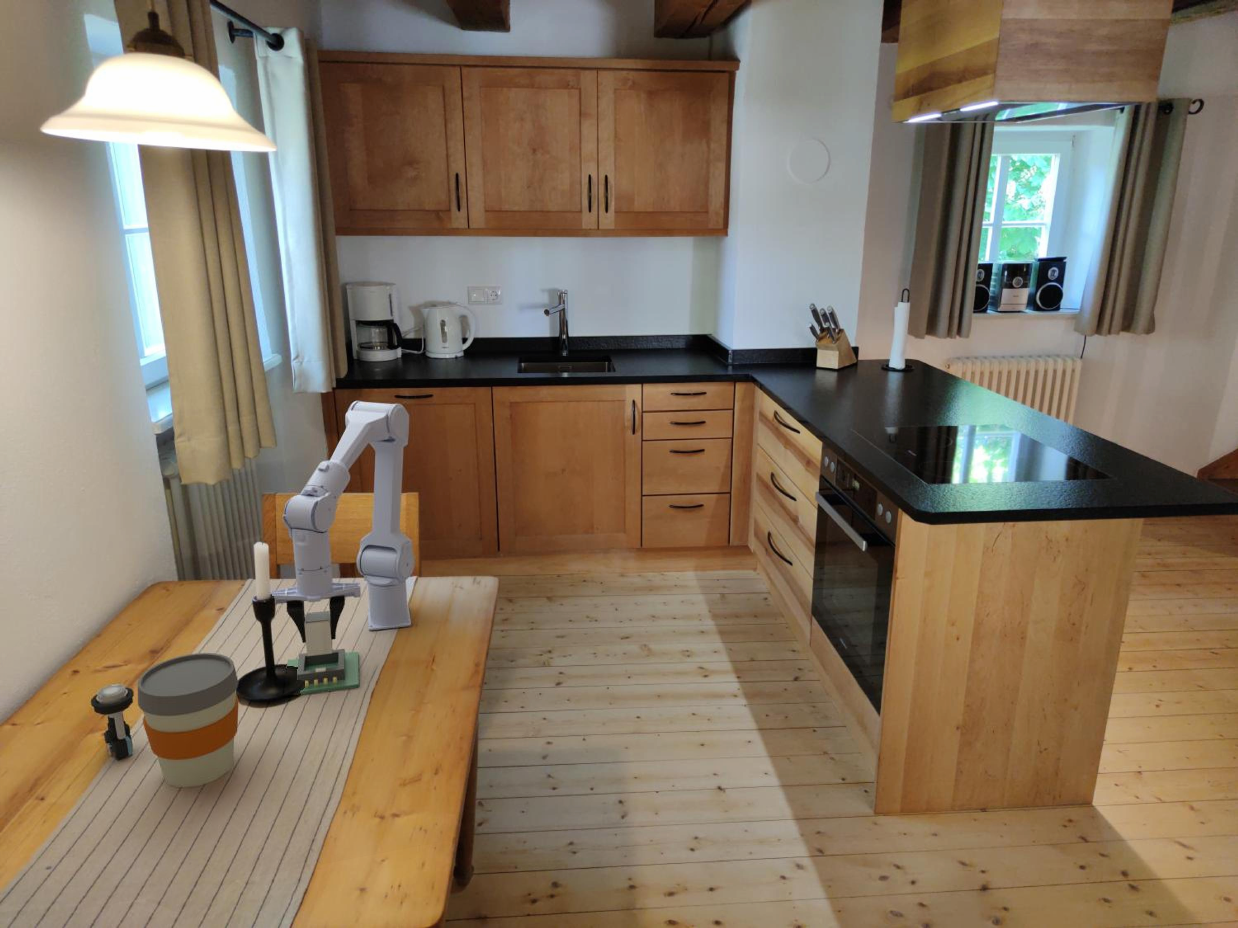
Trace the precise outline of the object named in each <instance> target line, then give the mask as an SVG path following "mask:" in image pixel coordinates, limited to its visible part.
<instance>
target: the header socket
mask: <svg viewBox="0 0 1238 928" xmlns="http://www.w3.org/2000/svg"><path fill="white" fill-rule="evenodd" d="M345 649H346V648H337V649H332V653H331V654H322V655H314V656H307V652H306V653H305V652H303V653H299V655H298V658H294V659H288V660H287V665H286V667H287V666H294V667H298V669H297V680H302V681H305V688H304V689H303V690H301V691H300V693H301V695H300V696H303V695H310V694H311V695H312V694H319V693H327V692H334V691H342V690H350V689H356V688H359V687H360V686H359V685H360V684H359V681H360V679H359V677H360V675H359V652H358V651H353V652H345V651H346V650H345Z"/></svg>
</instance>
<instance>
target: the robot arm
mask: <svg viewBox="0 0 1238 928" xmlns="http://www.w3.org/2000/svg"><path fill="white" fill-rule="evenodd" d="M344 417H345V420H344V421H345V422H344V423H345V430H344V431H343V434H342V436H341V438H340V440H339V441H338V444H337V445H336V448H335V450H334V451H333V453H332V456H331V457H330V458H329V460H323V461H321V462H320V463H319V464H318V465H317V467H316V469H315V470H314V472H313V473H312V475H311V477H310V478H309V479H308V480H307V482H306V484H305V486H304V487H303V489H302V490H301V492H300V494H295V495H294V496H293V497H291V498H289V499H287V501H286V503H285V505H284V508H283V515H282V516H281V518H282V522H283V524H284V526H285V528H287V530H288V537H289V539H290V540H292V546H293V558H294V559H293V560H294V569H295V578H296V586H291V587H287V588H283V589H278V590H270V591H271V593H272V596H274V598H275V607H276V606H277V605H281V604H286V612H287V615H289V617H290V618H291V620H292V621H293V622H294V624H295V626H296V628H297V630H298V632H299V635H300V638H301V641H302V644H306V637H305V625H304V623H305V615H306V613H305V602H307V603H316V602H318V603H319V602H321V601H322V600H329V603H328V606H329V611H330V618H331V640H332V641H333V640H336V637H337V635H336V634H337V633H336V632H337V628H338V623H339V620H340V617H341V615H342V612H343V610H344V608H345V604H346V598H349V597H351V598H352V597H353V598H355V599H357V598H361V597H362V596H361V595H362V593H361V583H360V582H352V583H351V582H333V570H332V558H331V557H332V556H331V543H330V528H331V527H332V526H333V525H334V522H335V518H336V512H337V509H338V505H339V504H338V501H339V500H340V497H341V496H342V494H343V493H344V491H345V489H346V487H347V486H348V484H349V483H350V480H351V475H350V472H349V470H350V468H351V467H352V465H353V464H354V463H355V461H357V459H358V458H359V456H360V455H361V454H362V453H363V451H364V449H365V448H366V447H367V446H368V445H370V446H371V447H372V448H373V450H374V452H375V458H374V479H373V480H374V483H373V506H372V507H373V508H372V529H371V531H370V532H369V533H368V534H366V535H364V536H363V537H362V538H361V539H360V546H359V552H358V553H357V556H356V567H357V570H358V573H359V575H361V576H363V579H364V580H363V581H364V582H365V581H366V582H367V587H368V591H367V592H368V602H369V608H368V609H367V613H368V614H367V619H368V620H367V621H368V623H367V624H368V631H379V630H386V629H387V630H389V629H395V628H403V627H405V628H406V627H411V626H412V621H411V613H410V607H409V605H408V594H407V591H408V590H407V580H408V579H409V578H410V576H411V575H412V573H413V571H414V568H415V563H416V561H415V560H416V559H415V555H414V550H413V545H414V544H413V540H412V539H410V538H409V537H408V536H407V535H406V534H405V533H404V532H402V531H401V510H402V509H401V508H402V505H401V504H402V491H403V490H402V489H403V487H402V486H403V484H402V483H403V468H404V466H403V462H404V461H403V460H404V448H405V447H406V446H408V443H409V432H410V430H409V429H410V428H409V427H410V414H409V413H408V411H407V410H406V408H405V406H403V404H401V403H383V402H382V403H381V402H370V401H368V402H367V401H362V400H355V401H353V402H352V403H351V404H350V406H349V407H348V409H347V411H346V413H345V416H344Z"/></svg>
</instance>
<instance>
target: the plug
mask: <svg viewBox="0 0 1238 928" xmlns="http://www.w3.org/2000/svg"><path fill="white" fill-rule="evenodd" d="M304 625H305V637H306V643H305V646H306V648H305V649H306V653H307V656H314V655H322V654H331V653H332V650H333V645H334V643H333V640H331V618H330V610H324V611H314V612H307V613H305V623H304Z"/></svg>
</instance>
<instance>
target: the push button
mask: <svg viewBox="0 0 1238 928" xmlns="http://www.w3.org/2000/svg"><path fill="white" fill-rule="evenodd" d="M134 694H135V693H134V690H133V689H132V688H131V687H126V685H124V684H119V683H117V684H116V683H115V684H111V685H110V684H109V685H106V686H104V687H102V688H100V689H99V690H98V691H97V693H96V694H95V695H94V696H92V697H91V700H90V704H91V707H93V710H94V713H97V714H100V715H103V716H107V724H106V725H107V729H106V730H105V732H104V733H103V735H104V741H105V744H106V746H107V747H106V748H107V749H106V750H107V753H108V754H109V756H112V752H113V754H114V758H115V760H116V761H119V760H121V759H124V758H126V757H129V756H132V755H133V754H134V753H133V749H132V748H133V746H134V745H133V740H132V735H131V727H130V725H129V724H128V723H126V721H125V717H124V712H125V710H127V709H128V708H130V706H131V705H132V704H133V703H134V700H133V697H134V696H135V695H134Z"/></svg>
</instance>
